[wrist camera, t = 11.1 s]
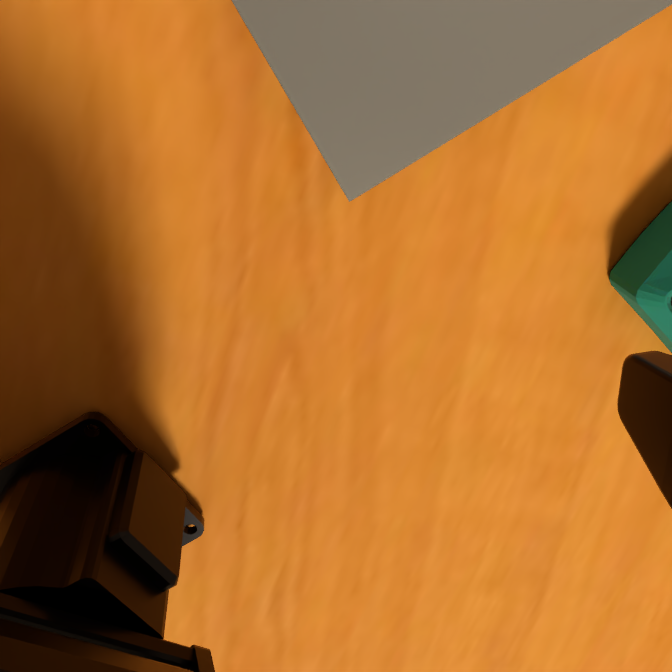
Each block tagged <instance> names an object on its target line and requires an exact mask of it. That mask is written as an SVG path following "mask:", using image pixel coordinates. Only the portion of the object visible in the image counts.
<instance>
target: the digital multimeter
mask: <svg viewBox="0 0 672 672" xmlns="http://www.w3.org/2000/svg"><path fill="white" fill-rule="evenodd" d="M609 280H610V282H611V285H612V286H613V287H614V288H615V289H616V290H617V292H618V293H619V294H620V295H621V296H622V297H623V298H624V299H625V300H626V301H627V303H628V304H629V305H630V306H631V307H632V308H633V309H634V310H635V311H636V313H637V314H638V315H639V316H640V317H641V318H642V319H643V320H644V321H645V322H646V324H647V325H648V326H649V327H650V328H651V329H652V330H653V331H654V333H655V334H656V335H657V336H658V337H659V339H660V340H661V341H662V342H663V343H664V344H665V346H666V347H667V348H668V349H669V350H670V351H671V353H672V202H670V203H669V204H668V205H667V207H666V208H665V209H664V210H663V211H662V212H661V213H660V214H659V215H658V216H657V217H656V218H655V219H654V221H653V222H652V223H651V224H650V225H649V226H648V227H647V228H646V229H645V230H644V231H643V232H642V233H641V235H640V236H639V237H638V238H637V240H636V241H635V242H634V243H633V244H632V246H631V247H630V248H629V249H628V251H627V252H626V253H625V254H624V256H623V257H622V258H621V259H620V260H619V262H618V263H617V264H616V265H615V267H614V268H613V269H612V270H611V273H610V277H609Z"/></svg>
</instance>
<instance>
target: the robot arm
mask: <svg viewBox="0 0 672 672" xmlns="http://www.w3.org/2000/svg"><path fill="white" fill-rule="evenodd" d="M618 412H619V416H620V419H621V421H622V423H623V425H624V426H625V428H626V430H627V432H628V433H629V435H630V437H631V439H632V441H633V442H634V444H635V446H636V448H637V449H638V451H639V453H640V455H641V457H642V458H643V460H644V462H645V464H646V465H647V467H648V469H649V471H650V473H651V474H652V476H653V478H654V480H655V482H656V483H657V485H658V487H659V489H660V490H661V492H662V494H663V495H664V497H665V499H666V500H667V502H668V504H669V505H670V507H671V508H672V355H669V354H666V353H662V352H659V351H649V352H642V353H636V354H631V355H629V356H628V357H627V358H626V359H625V361H624V363H623V367H622V374H621V381H620V388H619V395H618ZM88 425H96V426H97V427H99V430H91V429H89V428H88V427H87V426H88ZM189 524H193V525H195V526H193V527H188V526H186V525H189ZM203 531H204V518H203V516H202V515H201V514H200V513H199V512H198V511H197V510H196V509H195V508H194V507H193V506H192V505H191V504H190V503H189V502H188V501H187V500H186V494H185V493H184V492H183V491H182V490H181V488H180V487H179V486H178V485H177V484H176V483H175V482H174V481H173V480H172V479H171V478H170V477H169V476H168V475H167V474H166V473H165V472H164V471H163V470H162V469H161V468H160V467H159V466H158V465H157V464H156V463H155V462H154V461H153V459H152V458H151V457H150V456H149V455H148V454H147V453H146V452H143V451H140V450H138V449H137V448H136V447H135V446H134V445H133V444H132V443H131V442H130V441H129V440H128V439H127V438H126V437H125V436H124V435H123V434H122V433H121V432H120V431H119V430H118V429H117V428H116V427H115V425H114V424H113V423H112V422H111V421H110V420H109V419H108V418H107V417H106V416H104V415H103V414H101V413H97V412H89V413H86V414H84V415H82V416H81V417H79V418H77V419H76V420H74V421H72V422H71V423H69V424H67V425H66V426H64V427H62V428H61V429H59V430H57V431H56V432H54V433H52V434H51V435H49V436H47V437H46V438H44V439H42V440H41V441H39V442H37V443H36V444H34V445H32V446H31V447H29V448H27V449H26V450H24V451H22V452H21V453H19V454H17V455H16V456H14V457H12V458H11V459H9V460H7V461H6V462H4V463H2V464H1V465H0V672H215V670H214V665H213V661H212V656H211V652H210V649H207V648H203V647H200V646H196V645H192V646H191V647H187V646H184V645H180V644H177V643H173V642H170V641H166V640H163V638H164V629H165V620H166V611H167V602H168V593H169V589H170V588H172V587H174V586H176V585H177V582H178V577H179V569H180V559H181V548H182V546H184V545H185V544H187V543H189V542H191V541H193V540H194V539H196V538H198V537H199V536H201V535H202V533H203Z"/></svg>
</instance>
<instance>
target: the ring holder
mask: <svg viewBox="0 0 672 672" xmlns="http://www.w3.org/2000/svg"><path fill="white" fill-rule="evenodd" d="M232 2H233V4H234V5H235V7H236V9H237V10H238V12H239V14H240V15H241V17H242V19H243V21H244V22H245V24H246V26H247V27H248V29H249V31H250V33H251V34H252V36H253V38H254V39H255V41H256V43H257V45H258V46H259V48H260V50H261V51H262V53H263V55H264V57H265V58H266V60H267V62H268V63H269V65H270V67H271V69H272V70H273V72H274V74H275V75H276V77H277V79H278V80H279V82H280V84H281V86H282V87H283V89H284V91H285V92H286V94H287V96H288V98H289V99H290V101H291V103H292V104H293V106H294V108H295V110H296V111H297V113H298V115H299V116H300V118H301V120H302V122H303V123H304V125H305V127H306V128H307V130H308V132H309V134H310V135H311V137H312V139H313V140H314V142H315V144H316V146H317V147H318V149H319V151H320V152H321V154H322V156H323V157H324V159H325V161H326V163H327V164H328V166H329V168H330V169H331V171H332V173H333V175H334V176H335V178H336V180H337V181H338V183H339V185H340V187H341V188H342V190H343V192H344V193H345V195H346V197H347V199H348V200H349V202H350V201H352V200H353V199H355V198H356V197H358V196H360V195H361V194H363V193H365V192H366V191H368V190H369V189H371V188H373V187H374V186H376V185H378V184H379V183H381V182H383V181H384V180H386V179H387V178H389V177H391V176H392V175H394V174H396V173H397V172H399V171H400V170H402V169H404V168H405V167H407V166H409V165H410V164H412V163H414V162H415V161H417V160H418V159H420V158H422V157H423V156H425V155H427V154H428V153H430V152H431V151H433V150H435V149H436V148H438V147H440V146H441V145H443V144H445V143H446V142H448V141H449V140H451V139H453V138H454V137H456V136H458V135H459V134H461V133H462V132H464V131H466V130H467V129H469V128H471V127H472V126H474V125H476V124H477V123H479V122H480V121H482V120H484V119H485V118H487V117H489V116H490V115H492V114H493V113H495V112H497V111H498V110H500V109H502V108H503V107H505V106H507V105H508V104H510V103H511V102H513V101H515V100H516V99H518V98H520V97H521V96H523V95H524V94H526V93H528V92H529V91H531V90H533V89H534V88H536V87H538V86H539V85H541V84H542V83H544V82H546V81H547V80H549V79H551V78H552V77H554V76H555V75H557V74H559V73H560V72H562V71H564V70H565V69H567V68H569V67H570V66H572V65H573V64H575V63H577V62H578V61H580V60H582V59H583V58H585V57H587V56H588V55H590V54H591V53H593V52H595V51H596V50H598V49H600V48H601V47H603V46H604V45H606V44H608V43H609V42H611V41H613V40H614V39H616V38H618V37H619V36H621V35H622V34H624V33H626V32H627V31H629V30H631V29H632V28H634V27H635V26H637V25H639V24H640V23H642V22H644V21H645V20H647V19H649V18H650V17H652V16H653V15H655V14H657V13H658V12H660V11H662V10H663V9H665V8H666V7H668V6H670V5H671V4H672V0H232Z"/></svg>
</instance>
